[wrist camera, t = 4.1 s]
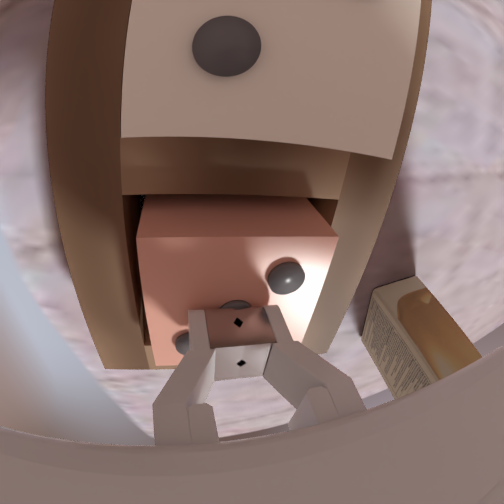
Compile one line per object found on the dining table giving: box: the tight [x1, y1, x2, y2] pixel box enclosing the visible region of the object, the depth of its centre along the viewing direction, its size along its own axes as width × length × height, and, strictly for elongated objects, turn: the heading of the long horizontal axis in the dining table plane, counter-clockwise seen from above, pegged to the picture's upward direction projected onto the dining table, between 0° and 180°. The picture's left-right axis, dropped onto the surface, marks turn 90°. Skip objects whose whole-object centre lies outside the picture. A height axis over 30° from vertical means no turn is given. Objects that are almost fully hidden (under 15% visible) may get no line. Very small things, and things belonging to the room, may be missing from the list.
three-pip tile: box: [136, 194, 339, 366], centre depth 12 cm, size 6×6×5 cm
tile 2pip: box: [121, 0, 421, 160], centre depth 6 cm, size 6×6×5 cm
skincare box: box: [361, 276, 482, 399], centre depth 17 cm, size 6×4×12 cm
